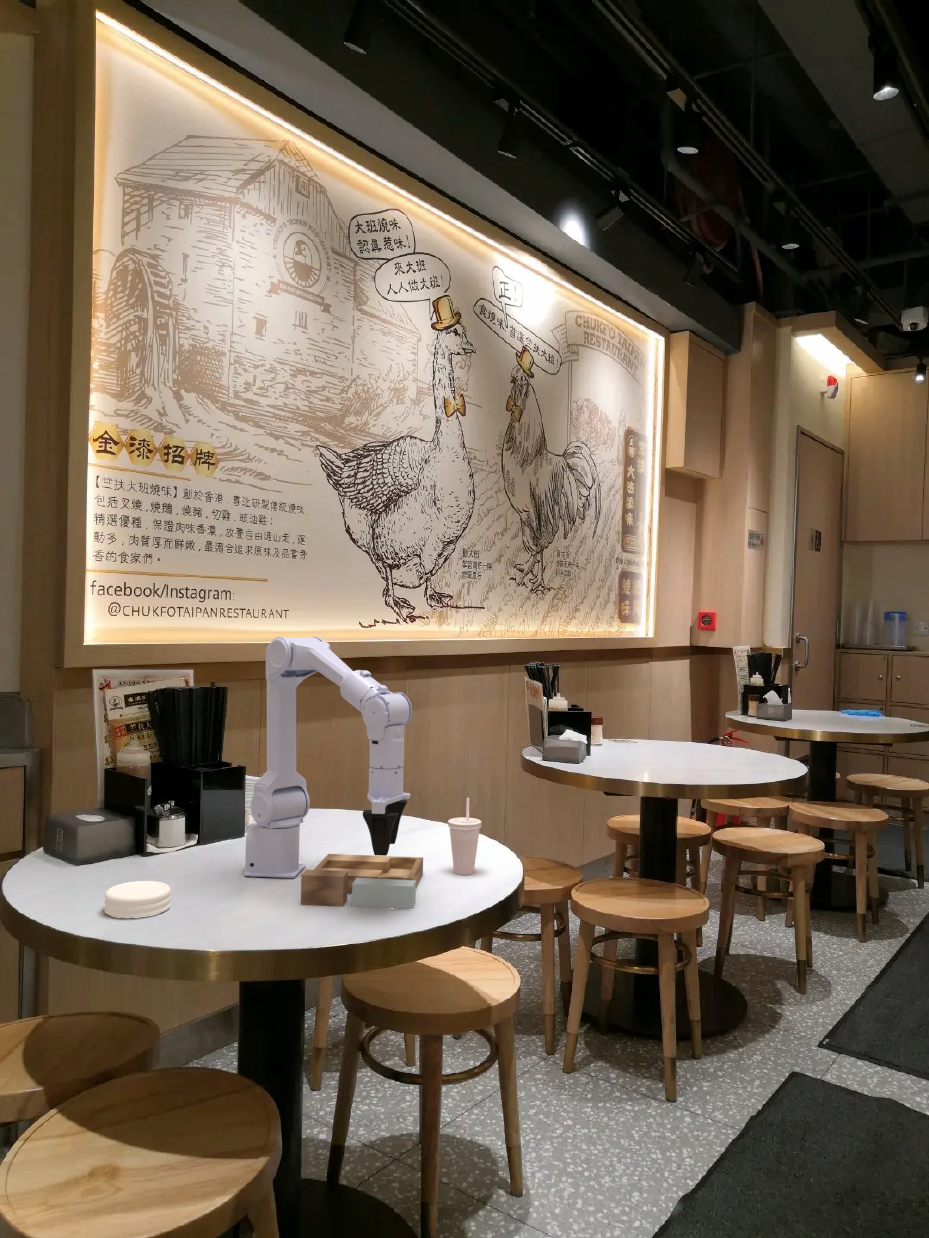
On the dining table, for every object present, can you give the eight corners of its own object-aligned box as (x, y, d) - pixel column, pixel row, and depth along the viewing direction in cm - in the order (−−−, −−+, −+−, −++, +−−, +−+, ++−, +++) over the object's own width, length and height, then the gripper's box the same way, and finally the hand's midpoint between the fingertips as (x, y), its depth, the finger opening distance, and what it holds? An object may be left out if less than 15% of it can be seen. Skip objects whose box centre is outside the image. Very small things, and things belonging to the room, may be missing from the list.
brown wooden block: (300, 905, 145) (301, 874, 145) (306, 899, 149) (306, 869, 149) (342, 907, 145) (343, 876, 145) (347, 900, 148) (347, 870, 148)
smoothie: (477, 878, 163) (478, 801, 163) (443, 875, 164) (444, 799, 164) (483, 869, 169) (484, 795, 169) (450, 866, 170) (452, 793, 170)
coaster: (100, 905, 144) (100, 884, 144) (163, 897, 148) (164, 876, 148) (108, 924, 135) (109, 901, 135) (176, 915, 140) (176, 892, 140)
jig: (308, 891, 153) (309, 874, 153) (327, 869, 167) (328, 853, 167) (412, 895, 151) (412, 878, 151) (422, 873, 165) (423, 857, 165)
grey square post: (412, 911, 144) (412, 886, 144) (351, 908, 145) (352, 883, 145) (415, 904, 147) (415, 880, 147) (356, 901, 148) (356, 877, 148)
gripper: (403, 774, 139) (402, 861, 139) (416, 760, 153) (414, 839, 153) (359, 772, 139) (357, 859, 139) (376, 759, 154) (374, 838, 154)
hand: (384, 849), depth 146 cm, fingers open, 7 cm apart
